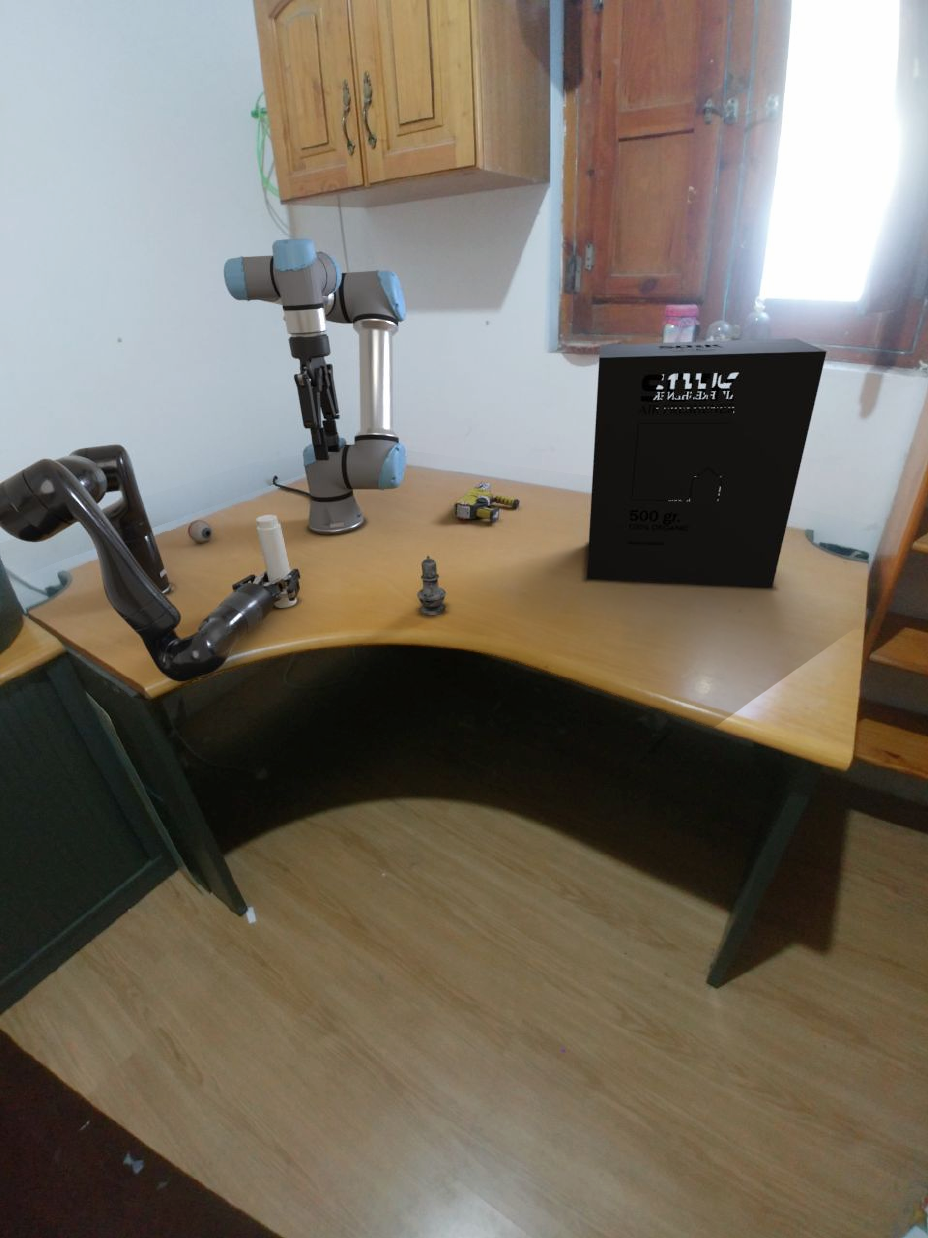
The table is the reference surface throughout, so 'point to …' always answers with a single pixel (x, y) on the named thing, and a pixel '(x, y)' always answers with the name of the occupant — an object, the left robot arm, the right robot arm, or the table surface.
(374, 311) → the right robot arm
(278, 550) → the bottle
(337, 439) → the lid
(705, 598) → the table surface
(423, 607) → the salt shaker
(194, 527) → the eyeball
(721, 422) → the cardboard box
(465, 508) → the toy gun
